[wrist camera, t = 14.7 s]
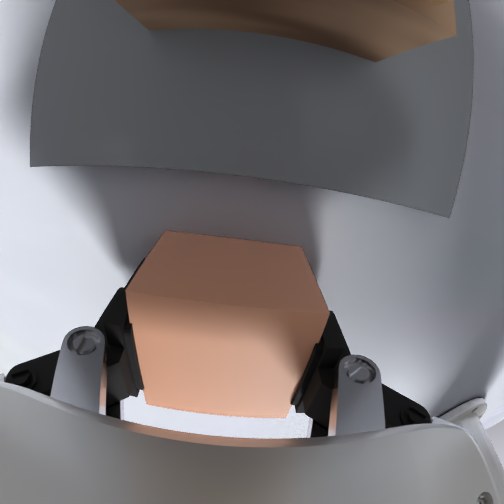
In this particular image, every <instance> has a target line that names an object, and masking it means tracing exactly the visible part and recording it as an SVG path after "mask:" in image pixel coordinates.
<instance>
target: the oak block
mask: <svg viewBox="0 0 504 504" xmlns="http://www.w3.org/2000/svg"><path fill="white" fill-rule="evenodd" d="M427 1H429V2H430V3H432V4H434V5H436V6H438V5H441V4H443V3H446V2H448V1H450V0H427Z"/></svg>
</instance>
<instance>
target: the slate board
mask: <svg viewBox="0 0 504 504" xmlns="http://www.w3.org/2000/svg"><path fill="white" fill-rule="evenodd" d="M454 7H455V18H456V35H457V36H454V37H450V38H446V39H443V40H439V41H436V42H432V43H429V44H426V45H423V46H420V47H417V48H413V49H411V50H408V51H405V52H402V53H399V54H396V55H394V56H391V57H388V58H386V59H383V60H381V61H378V62H376V63H375V62H373V61H370V60H367V59H364V58H362V57H359V56H356V55H353V54H349V53H346V52H343V51H340V50H336V49H333V48H329V47H325V46H321V45H317V44H313V43H309V42H305V41H300V40H295V39H290V38H285V37H279V36H273V35H267V34H260V33H252V32H243V31H232V30H217V29H163V30H148V29H147V28H145V27H144V26H143V25H142V24H141V23H140V22H139V21H138V20H136V19H135V18H134V17H133V16H132V15H131V14H130V13H128V12H127V11H126V10H125V9H124V8H122V7H121V6H120V5H119V4H118V3H116V2H115V1H114V0H56V2H55V5H54V8H53V11H52V14H51V17H50V20H49V23H48V27H47V30H46V34H45V38H44V42H43V46H42V50H41V54H40V59H39V64H38V69H37V75H36V81H35V88H34V96H33V105H32V116H31V132H30V167H39V166H127V167H149V168H165V169H179V170H191V171H202V172H212V173H221V174H230V175H239V176H247V177H254V178H262V179H269V180H276V181H282V182H289V183H295V184H301V185H307V186H313V187H318V188H324V189H329V190H334V191H339V192H344V193H349V194H354V195H359V196H364V197H368V198H373V199H377V200H382V201H386V202H390V203H394V204H398V205H403V206H406V207H410V208H414V209H418V210H422V211H426V212H429V213H433V214H437V215H440V216H444V217H447V218H449V217H450V214H451V211H452V207H453V204H454V200H455V196H456V192H457V188H458V184H459V180H460V176H461V171H462V167H463V162H464V156H465V151H466V145H467V139H468V132H469V125H470V116H471V106H472V93H473V36H472V24H471V14H470V7H469V0H454Z"/></svg>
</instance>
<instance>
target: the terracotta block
mask: <svg viewBox="0 0 504 504" xmlns="http://www.w3.org/2000/svg"><path fill="white" fill-rule="evenodd" d="M125 291H126V299H127V307H128V314H129V321H130V323H132V326H133V333H134V339H135V344H136V350H137V355H138V361H139V365H140V370H141V375H142V380H143V384H144V388H145V389H144V390H143V392H144V396H145V400H146V404H148V405H153V406H158V407H163V408H169V409H175V410H181V411H188V412H196V413H204V414H213V415H223V416H236V417H254V418H286V416H287V414H288V412H289V410H290V408H291V406H292V405H291V404H290V403H291V400H292V398H293V396H294V394H295V391H296V389H297V387H298V385H299V382H300V380H301V378H302V375H303V373H304V370H305V368H306V366H307V363H308V361H309V358H310V356H311V353H312V351H313V348H314V346H315V343H319V341H320V338H321V336H322V333H323V331H324V328H325V325H326V323H327V320H328V317H329V314H330V312H329V309H328V307H327V305H326V302H325V300H324V297H323V295H322V293H321V290H320V288H319V286H318V283H317V281H316V279H315V276H314V274H313V272H312V270H311V267H310V265H309V263H308V261H307V258H306V256H305V254H304V252H303V249H302V247H301V246H293V245H285V244H277V243H269V242H260V241H252V240H244V239H236V238H227V237H219V236H210V235H202V234H193V233H184V232H175V231H166V230H165V231H164V233H163V234H162V236H161V237H160V239H159V240H158V241H157V243H156V244H155V246H154V247H153V249H152V250H151V252H150V253H149V255H148V256H147V258H146V259H145V261H144V262H143V264H142V265H141V267H140V268H139V270H138V271H137V273H136V274H135V276H134V278H133V279H132V281H131V282H130V284H129V285H128V287H127V289H126V290H125Z"/></svg>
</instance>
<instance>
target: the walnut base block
mask: <svg viewBox="0 0 504 504" xmlns="http://www.w3.org/2000/svg"><path fill="white" fill-rule="evenodd" d="M114 1H115V2H116V3H118V4H119V5H120V6H121V7H122V8H124V9H125V10H126V11H127V12H128V13H130V14H131V15H132V16H133V17H134V18H135V19H136V20H138V21H139V22H140V23H141V24H142V25H143V26H144V27H145V28H147V29H148V30H163V29H217V30H232V31H243V32H252V33H260V34H267V35H273V36H279V37H285V38H290V39H295V40H300V41H305V42H309V43H313V44H317V45H321V46H325V47H329V48H333V49H336V50H340V51H343V52H346V53H349V54H353V55H356V56H359V57H362V58H364V59H367V60H370V61H373V62H375V63H376V62H378V61H381V60H383V59H386V58H388V57H391V56H394V55H396V54H399V53H402V52H405V51H408V50H411V49H413V48H417V47H420V46H423V45H426V44H429V43H432V42H436V41H439V40H443V39H446V38H450V37H454V36H457V35H456V18H455V7H454V0H450V1H448V2H446V3H443V4H441V5H438V6H436V5H434V4H432V3H430V2H429V1H427V0H114Z"/></svg>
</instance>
